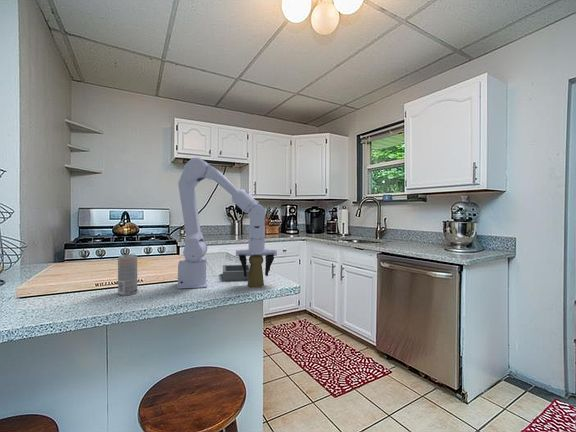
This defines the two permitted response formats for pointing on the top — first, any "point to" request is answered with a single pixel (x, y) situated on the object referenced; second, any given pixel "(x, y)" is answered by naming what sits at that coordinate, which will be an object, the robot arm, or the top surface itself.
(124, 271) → the energy drink
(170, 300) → the top surface
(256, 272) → the cork
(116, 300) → the top surface
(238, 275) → the box
